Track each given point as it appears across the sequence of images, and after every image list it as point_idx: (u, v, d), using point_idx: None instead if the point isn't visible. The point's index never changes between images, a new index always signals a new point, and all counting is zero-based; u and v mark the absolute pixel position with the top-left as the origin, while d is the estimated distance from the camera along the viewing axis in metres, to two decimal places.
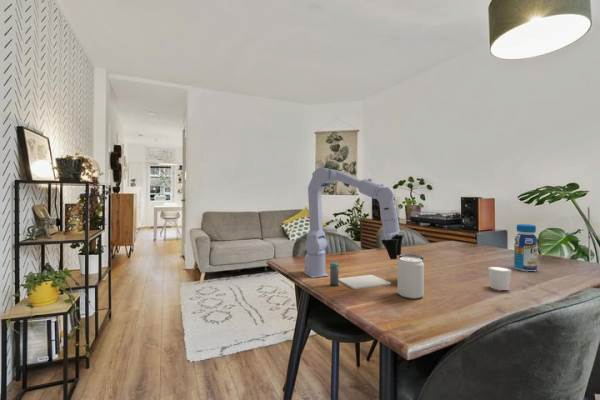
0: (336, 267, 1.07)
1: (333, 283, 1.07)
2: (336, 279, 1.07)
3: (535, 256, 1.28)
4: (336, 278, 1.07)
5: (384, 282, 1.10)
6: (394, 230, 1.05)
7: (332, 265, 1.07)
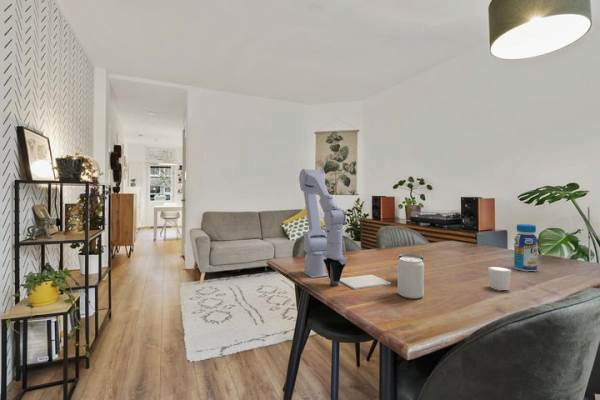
0: None
1: (333, 283, 1.07)
2: None
3: (535, 256, 1.28)
4: None
5: (384, 282, 1.10)
6: None
7: None
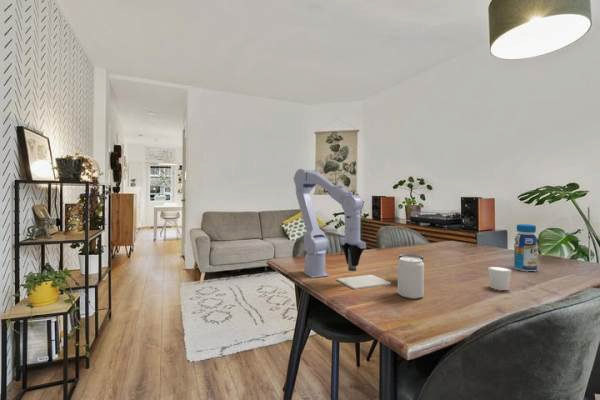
0: None
1: (351, 268, 1.09)
2: None
3: (535, 256, 1.28)
4: None
5: (384, 282, 1.10)
6: None
7: None
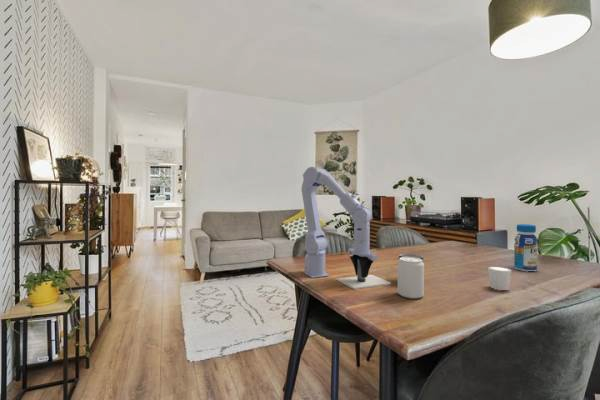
0: None
1: (361, 279, 1.10)
2: None
3: (535, 256, 1.28)
4: None
5: (384, 282, 1.10)
6: None
7: None
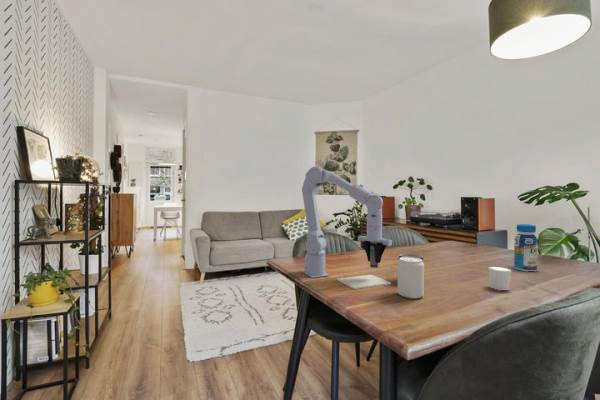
0: None
1: (374, 264, 1.12)
2: None
3: (535, 256, 1.28)
4: None
5: (384, 282, 1.10)
6: None
7: (373, 247, 1.12)
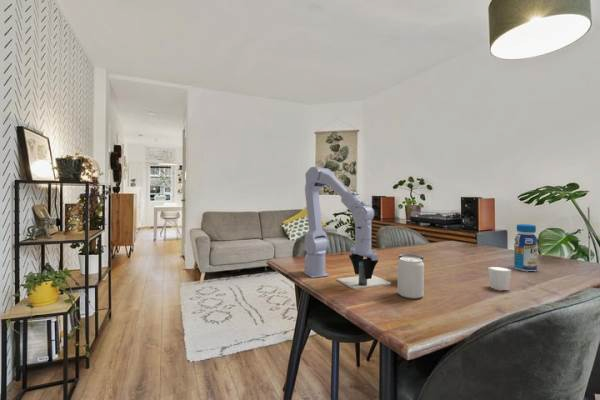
0: None
1: (362, 282, 1.06)
2: None
3: (535, 256, 1.28)
4: None
5: (384, 282, 1.10)
6: None
7: (361, 264, 1.06)
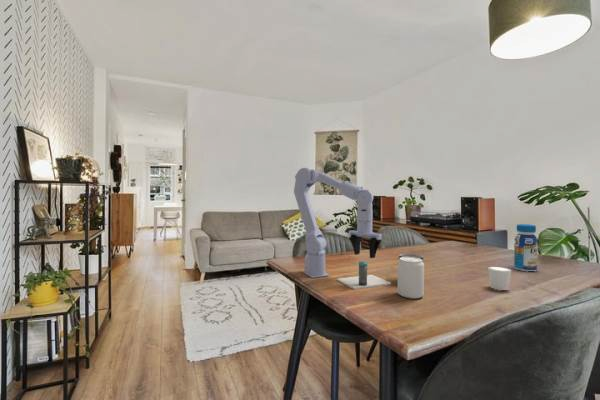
0: (365, 266, 1.06)
1: (362, 282, 1.06)
2: (365, 278, 1.06)
3: (535, 256, 1.28)
4: (365, 277, 1.06)
5: (384, 282, 1.10)
6: (357, 230, 1.16)
7: (361, 264, 1.06)
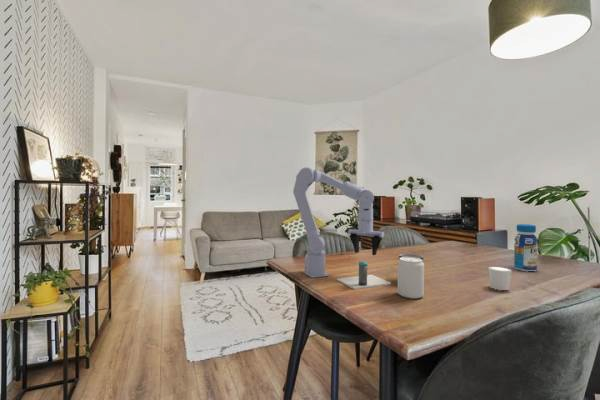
0: (365, 266, 1.06)
1: (362, 282, 1.06)
2: (365, 278, 1.06)
3: (535, 256, 1.28)
4: (365, 277, 1.06)
5: (384, 282, 1.10)
6: (358, 229, 1.20)
7: (361, 264, 1.06)
